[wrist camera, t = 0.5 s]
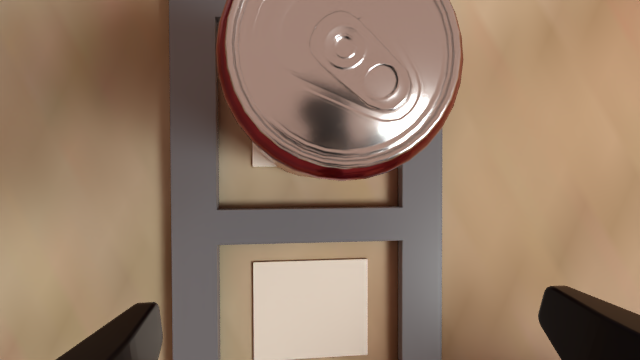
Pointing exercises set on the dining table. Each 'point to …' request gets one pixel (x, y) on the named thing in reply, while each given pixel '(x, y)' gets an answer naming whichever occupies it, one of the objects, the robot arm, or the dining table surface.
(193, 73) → the label frame
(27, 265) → the dining table surface
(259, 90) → the soda can
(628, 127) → the dining table surface
